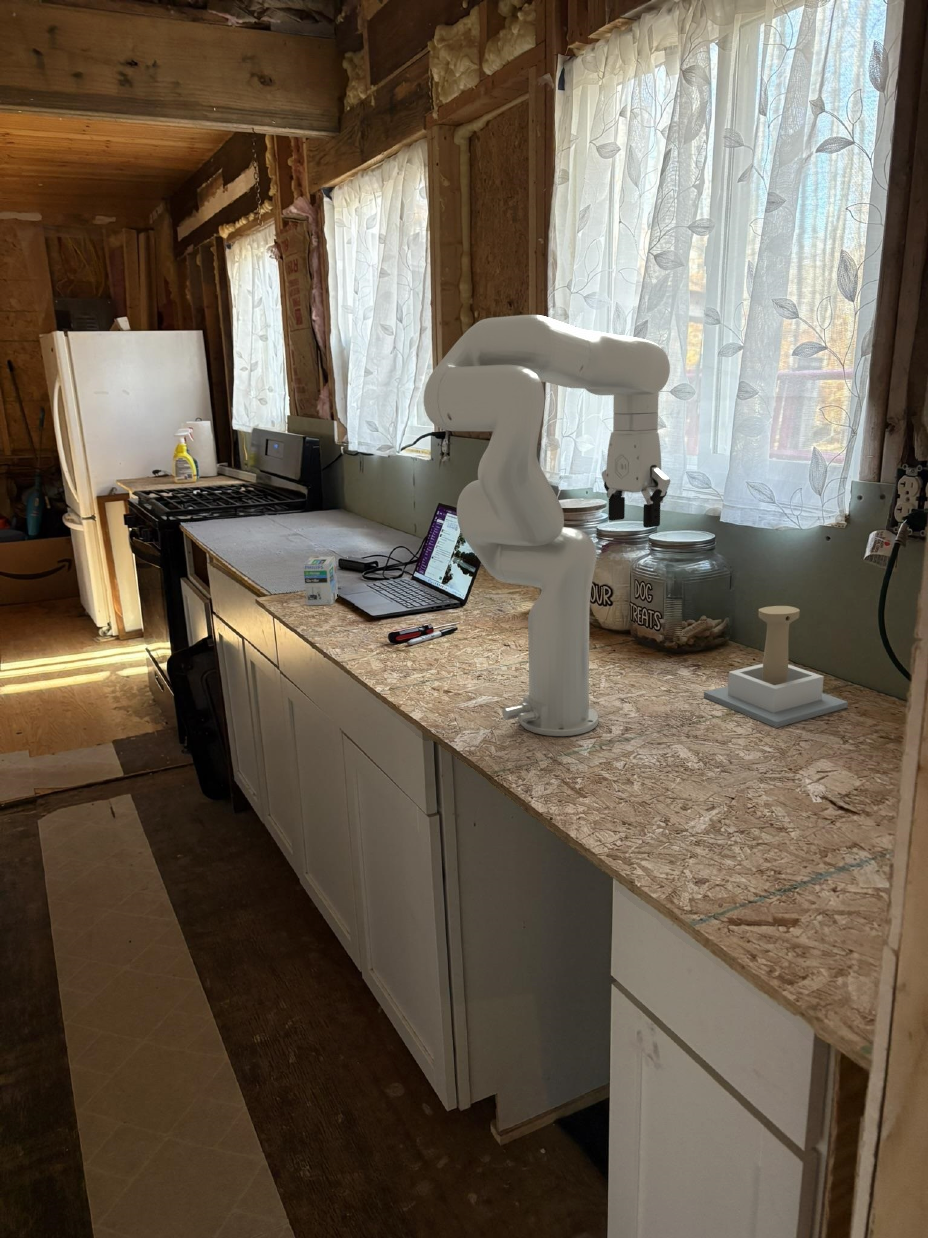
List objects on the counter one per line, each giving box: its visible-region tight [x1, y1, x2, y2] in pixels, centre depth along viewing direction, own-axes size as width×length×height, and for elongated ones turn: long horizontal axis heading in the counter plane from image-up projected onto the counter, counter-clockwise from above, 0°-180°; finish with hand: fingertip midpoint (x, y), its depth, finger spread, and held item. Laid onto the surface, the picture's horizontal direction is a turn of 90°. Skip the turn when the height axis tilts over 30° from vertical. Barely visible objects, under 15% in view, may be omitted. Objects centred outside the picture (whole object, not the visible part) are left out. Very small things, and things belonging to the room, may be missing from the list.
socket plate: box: [703, 663, 849, 729], centre depth 145 cm, size 16×16×5 cm
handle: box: [758, 605, 801, 685], centre depth 143 cm, size 5×6×15 cm
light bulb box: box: [303, 555, 339, 606], centre depth 223 cm, size 11×7×11 cm, turn 179°
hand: (633, 523), depth 154 cm, fingers open, 9 cm apart
